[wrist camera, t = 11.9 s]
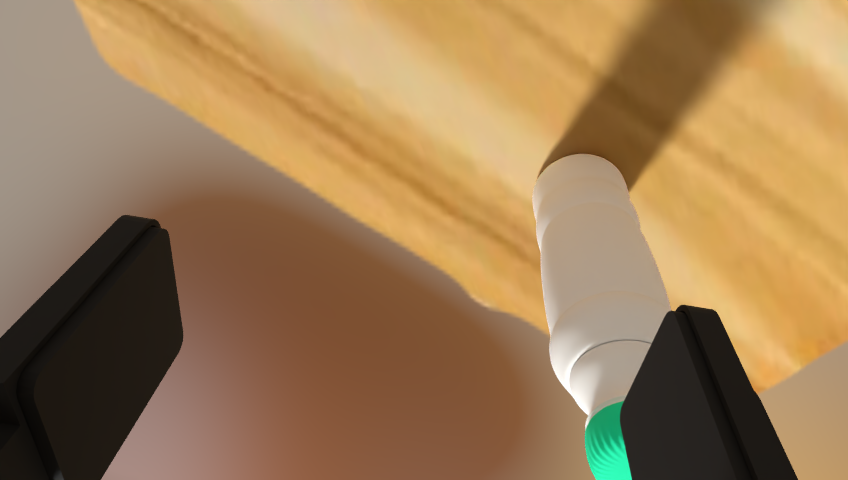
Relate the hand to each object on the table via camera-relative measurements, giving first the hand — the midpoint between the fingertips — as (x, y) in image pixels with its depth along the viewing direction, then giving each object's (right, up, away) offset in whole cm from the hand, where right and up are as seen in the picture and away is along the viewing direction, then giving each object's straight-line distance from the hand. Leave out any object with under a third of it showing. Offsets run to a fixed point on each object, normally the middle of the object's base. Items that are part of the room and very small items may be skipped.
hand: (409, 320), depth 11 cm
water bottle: (+12, +5, +35) cm, 38 cm away
